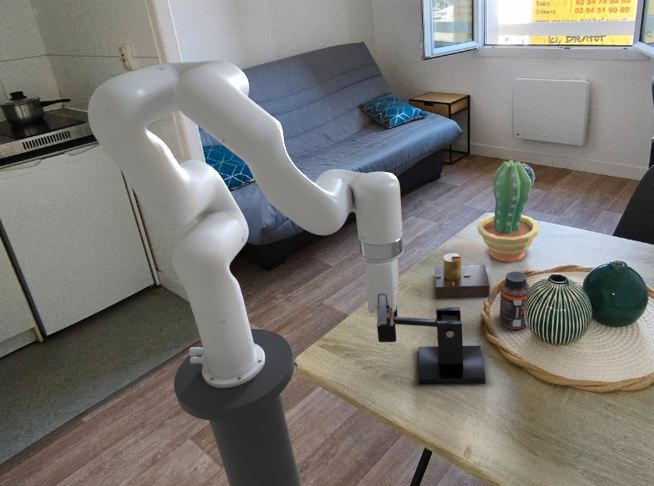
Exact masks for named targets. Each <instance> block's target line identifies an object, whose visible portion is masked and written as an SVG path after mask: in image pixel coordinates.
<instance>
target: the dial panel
mask: <svg viewBox="0 0 654 486" xmlns="http://www.w3.org/2000/svg"><path fill="white" fill-rule="evenodd" d="M434 278H435V295H436V299H452V298H482V297H490V282H489V277H488V274H487V269H486V265H485V264H476V265H475V264H473V265H471V264H470V265H461V277H460V278H459V279H457V280H447V279H446V278H445V277H444V268H443V266H434Z"/></svg>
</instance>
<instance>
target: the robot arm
mask: <svg viewBox="0 0 654 486" xmlns="http://www.w3.org/2000/svg"><path fill="white" fill-rule="evenodd" d="M249 84H250V83H249V80H248V78H247V76H246V75H245V72H243V70H241V68H239V67H238V66H237V65H235V64H233V63H231V62H229V61H226V60H219V59H217V60H216V59H215V60H204V61H186V62H185V61H184V62H183V61H181V62H166V63H165V62H163V63H158V64H153V65H149V66H146V67H143V68H139V69H135V70H131V71H128V72H124V73H121V74H118V75H115V76H113V77H111V78H109V79H107V80H106V81H104V82H103V83H102V84H100V85H99V86H98V87H97V88H96V89H95V90H94V92H93V93H92V95H91V96H90V98H89V102H88V106H87V119H88V120H87V121H88V124H89V127H90V130H91V133H92V134H93V136H94V138H95V139H96V141H97V142H98V143H99V145H100V146H101V147H102V149H103V150H104V151H105V153H107V155H108V156H109V157H110V158H111V159H112V160H113V162H114V163H115V164H116V165H117V167H118V168H119V170H120V172H121V173H122V174H123V176H124V178H125V179H126V181H127V183H128V184H129V186H130V187H131V189H132V190H133V191H134V194H136V197H138V199H139V201H140V203H141V204H142V205H143V207H144V208H145V210H146V212H147V213H148V214H149V216H150V217H151V218H152V220H153V221H154V223H156V225H158V226H159V227H160V228H162V229H164V230H167V231H176V230H179V229H182V228H184V227H185V226H187V225H188V224H190V223H191V222H192V221H194V220H195V219H196V221H197V223H196V224H194V225H193V226H191V228H190V229H189V230H187V231H186V232H185V233H184V234H183V235H182V236H181V238H179V240H178V241H177V243H176V244H175V246H174V247H173V250H172V254H171V264H172V267H173V269H174V272H175V273H176V276H177V277H178V279H179V281H180V282H181V284H182V286H183V288H184V291H185V293H186V296H187V298H188V301H189V305H190V308H191V311H192V314H193V317H194V321H195V325H196V327H197V331H198V334H199V338H200V341H201V345H203V348H200V346H192V347H190V348H189V350H188V356H190V357H191V358H190V363H191V364H198V363H201V364H202V365H203V367H202V374H203V378H204V380H205V381H206V382H207V383H208V384H209V385H211V386H214V387H218V388H229V387H234V386H238V385H241V384H243V383H245V382H247V381H249V380H251V379H252V378H253V377H255V376H256V375H257V374H258V373H259V372H260V371H261V369H262V368H263V366H264V363H265V355H264V351H263V349H262V348H261V347H260V346H258V345H257V344H254V342H253V338H252V333H251V329H252V328H251V325H250V321H249V318H248V313H247V309H246V304H245V300H244V297H243V294H242V289H241V287H240V283H239V281H238V280H237V278H236V277H235V276H234V275H233V274H232V272H231V270H230V265H231V263H232V262H233V260H235V257H236V256H237V255H238V254H239V252H240V251H241V250H242V249H243V247H244V246H245V245H246V243H247V241H248V238H249V236H250V235H249V233H250V230H249V225H248V222H247V220H246V217H245V215H244V214H243V212H242V210H241V209H240V207H239V205H238V204H237V202H236V200H235V198H234V197H233V195H232V193H231V191H230V190H229V188H228V186H227V184H226V183H225V181H224V180H223V178H222V177H221V175H220V174H219V173H218V171H217V170H215V168H214V167H213V166H211V165H210V164H207V163H206V162H204V161H201V160H196V159H189V160H184V161H182V162H180V163H179V162H178V161H177V159H176V158H175V157H174V154H173V153H172V152H171V149H170V148H169V147H168V145H167V144H166V143H165V142H164V141H163V140H162V139H161V138H160V137H159V136H157V135H156V134H155V133H153V132H151V131H150V130H149V129H148V126H149V125H150V124H152V123H154V122H156V121H158V120H161V119H164V118H165V117H168V116H169V115H171V114H174V113H177V112H181V113H182V114H183V115H184V116H185V117H186V118H188V119H189V120H190V121H191V122H192V123H194V124H195V125H197V127H199V128H201V129H202V130H203V131H204V132H205V133H207V134H208V135H209V136H211V137H212V138H213V139H215V140H216V141H217V142H218V143H219V144H221V145H223V146H224V147H225V148H226V149H228V150H229V151H230V152H231V153H233V154H234V155H235V156H237V157H238V158H240V160H242V161H243V162H244V163H245V164H246V165H247V167H248V168H249V169H248V170H249V171H250V173H251V175H252V178H253V179H254V181H255V183H256V184H257V186H258V187H259V188H260V190H261V192H262V193H263V195H264V196H265V199H267V200H268V202H269V203H270V204H271V205H272V206H273V207H274V208H275V209H276V210H277V211H278V212H280V213H281V214H282V215H284V216H285V217H286V218H288V219H289V220H290V221H292V222H293V223H294V224H296V225H297V226H298V227H300V228H302V229H303V230H305V231H307V232H309V233H311V234H314V235H318V236H329V235H332V234H335V233H336V232H338V231H340V229H341V228H342V227H343V226H344V224H345V223H346V221H347V219H348V216H349V215H350V214H351V213H355V219H356V225H357V226H356V229H357V238H358V246H359V247H358V249H359V255H360V257H361V259H363V260H364V261H365V282H366V284H365V285H366V296H367V298H366V299H367V311H368V313H369V314H375V313H376V321H377V322H376V329H377V340H378V342H379V343H396V342H397V328H396V324H395V322H393V312H394V316H395V317H399V316H398V305H397V304H398V303H397V302H398V295H399V263H398V262H399V261H398V260H399V259H400V258H401V257H402V256H403V254H404V253H405V248H404V233H403V230H404V229H403V217H402V201H401V200H402V199H401V187H400V181H399V179H398V178H397V176H395V175H394V174H393V173H391V172H386V171H371V172H367V173H366V172H360V171H353V170H347V169H341V168H332V169H328V170H325V171H324V172H322V173H321V174H320V175H318V177H317V178H316V180H315V181H314V182H313V181H312V180H310V179H309V178H308V177H307V176H306V175H305V174H303V173H302V172H301V170H300V169H298V168H297V167H296V165H295V163H293V161H292V159H291V158H290V157H289V154H288V152H287V150H286V149H287V148H286V146H285V140H284V132H283V128H282V125H281V123H280V121H279V120H277V119H276V118H275V117H274V116H272V115H271V114H270V113H268V112H267V111H266V110H265V109H264V108H262V107H261V106H260V105H258V103H256V102H255V101H254V100H252V99H251V98H250V97H249V93H250V85H249ZM387 313H390V318H389V317H387ZM199 356H202V357H199Z"/></svg>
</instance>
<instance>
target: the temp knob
mask: <svg viewBox="0 0 654 486" xmlns="http://www.w3.org/2000/svg"><path fill="white" fill-rule="evenodd" d="M461 261H462V258H461V255H459V254H458V253H453V252H452V253H451V252H449V253H446V254H444V255H443V257H442V264H443V266H442V267H443V268H444V277H445V278H446V279H447V280H457V279H459V278H460V277H461V266H462V262H461Z"/></svg>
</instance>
